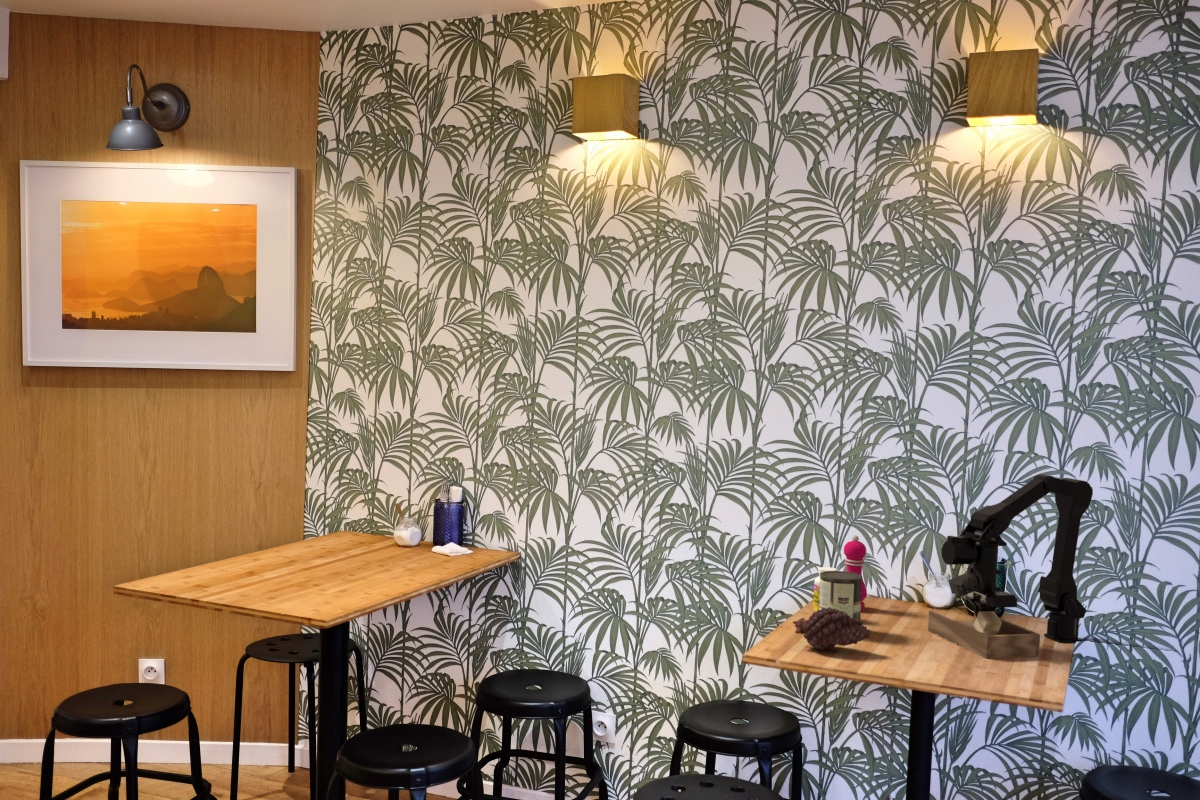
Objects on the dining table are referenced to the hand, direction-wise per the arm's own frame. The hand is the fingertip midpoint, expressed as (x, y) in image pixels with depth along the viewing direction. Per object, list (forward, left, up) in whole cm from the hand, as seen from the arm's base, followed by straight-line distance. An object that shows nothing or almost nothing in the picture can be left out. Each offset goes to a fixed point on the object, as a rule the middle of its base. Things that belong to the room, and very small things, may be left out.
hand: (981, 628), depth 254 cm
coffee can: (+30, -15, -4) cm, 34 cm away
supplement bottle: (+27, -28, -4) cm, 39 cm away
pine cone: (+40, +1, -4) cm, 41 cm away
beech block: (+1, +3, 0) cm, 3 cm away
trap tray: (0, 0, -4) cm, 4 cm away
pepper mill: (+15, -36, -4) cm, 39 cm away
